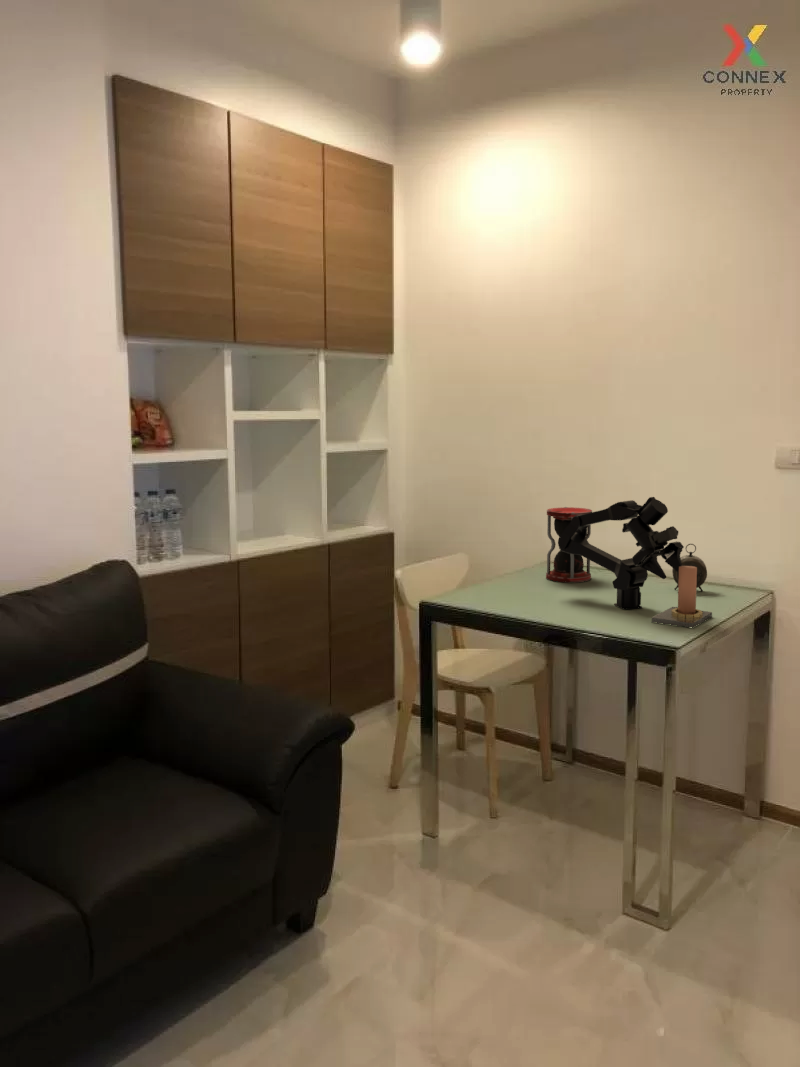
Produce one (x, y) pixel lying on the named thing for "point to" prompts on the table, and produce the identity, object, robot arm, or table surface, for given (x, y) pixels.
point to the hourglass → (565, 563)
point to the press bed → (681, 617)
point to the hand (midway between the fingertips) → (674, 576)
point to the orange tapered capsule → (687, 589)
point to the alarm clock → (696, 562)
